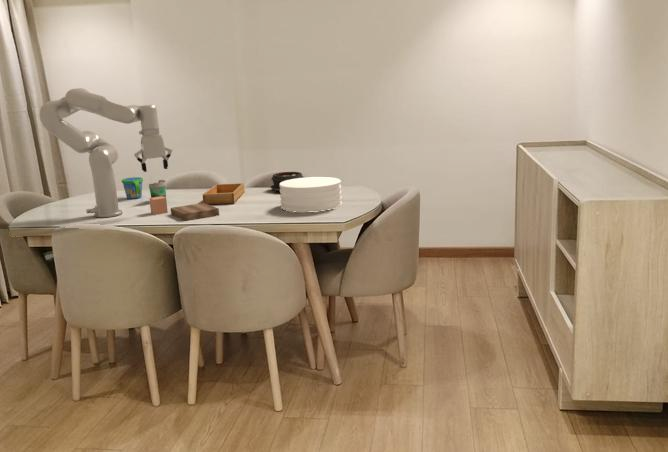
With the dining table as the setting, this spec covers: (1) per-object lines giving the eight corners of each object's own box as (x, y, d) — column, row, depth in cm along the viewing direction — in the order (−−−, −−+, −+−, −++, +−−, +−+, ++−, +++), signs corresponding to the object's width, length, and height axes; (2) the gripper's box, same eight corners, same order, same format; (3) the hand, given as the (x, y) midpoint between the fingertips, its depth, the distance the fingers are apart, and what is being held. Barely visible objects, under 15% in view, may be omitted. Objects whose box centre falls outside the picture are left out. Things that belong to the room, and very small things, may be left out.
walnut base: (184, 220, 302) (184, 214, 301) (171, 214, 317) (170, 207, 316) (219, 215, 310) (218, 208, 309) (204, 209, 325) (203, 202, 324)
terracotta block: (155, 214, 318) (153, 199, 316) (151, 212, 323) (149, 198, 321) (167, 212, 321) (166, 197, 319) (163, 210, 326) (161, 196, 324)
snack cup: (148, 198, 358) (145, 179, 356) (127, 201, 354) (125, 181, 351) (141, 194, 372) (138, 175, 369) (121, 197, 367) (118, 178, 365)
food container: (162, 203, 343) (159, 183, 340) (150, 204, 344) (148, 184, 342) (172, 198, 354) (170, 179, 352) (161, 199, 356) (159, 179, 353)
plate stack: (269, 211, 312) (267, 186, 310) (299, 199, 337) (297, 176, 334) (325, 214, 300) (324, 188, 298) (351, 201, 325) (350, 177, 322)
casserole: (302, 193, 352) (301, 177, 350) (266, 194, 353) (265, 178, 351) (308, 184, 376) (307, 169, 374) (274, 186, 377) (273, 170, 376)
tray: (216, 194, 364) (215, 183, 363) (244, 193, 363) (244, 182, 362) (203, 206, 334) (202, 194, 333) (234, 204, 333) (233, 193, 332)
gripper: (134, 135, 306) (139, 173, 310) (172, 131, 314) (176, 168, 318) (129, 134, 312) (134, 171, 316) (166, 130, 321) (171, 167, 325)
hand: (155, 170), depth 317 cm, fingers open, 9 cm apart
